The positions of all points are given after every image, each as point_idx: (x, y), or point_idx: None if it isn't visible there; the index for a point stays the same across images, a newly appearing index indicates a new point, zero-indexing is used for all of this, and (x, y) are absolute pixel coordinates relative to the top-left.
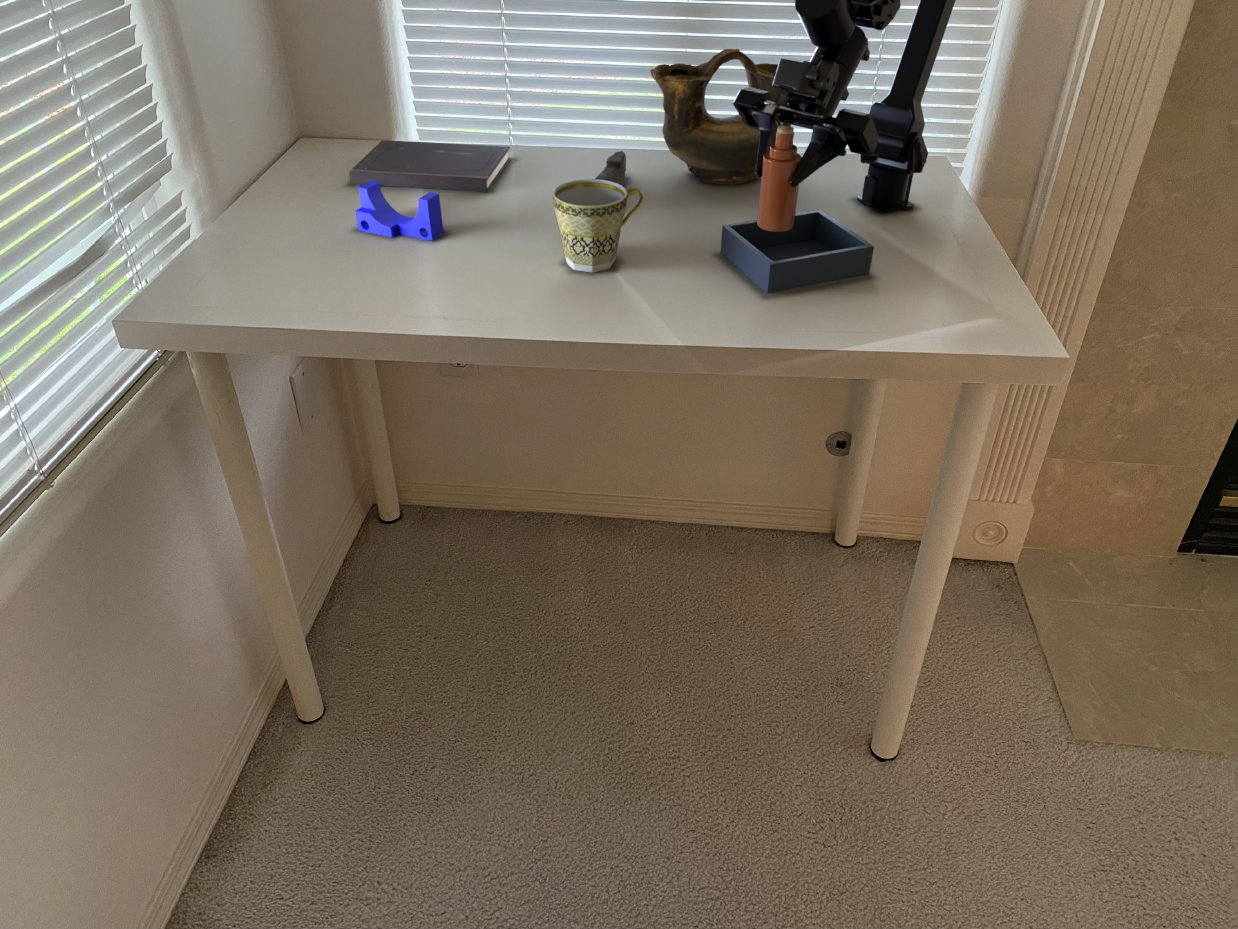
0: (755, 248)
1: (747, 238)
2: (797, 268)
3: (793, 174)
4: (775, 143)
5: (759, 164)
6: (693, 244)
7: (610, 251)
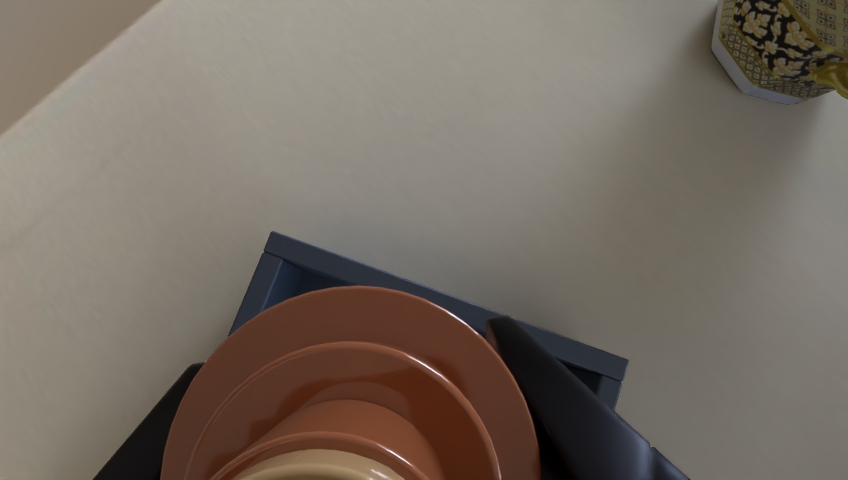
0: None
1: None
2: None
3: None
4: (401, 421)
5: (516, 351)
6: (700, 351)
7: (736, 11)
